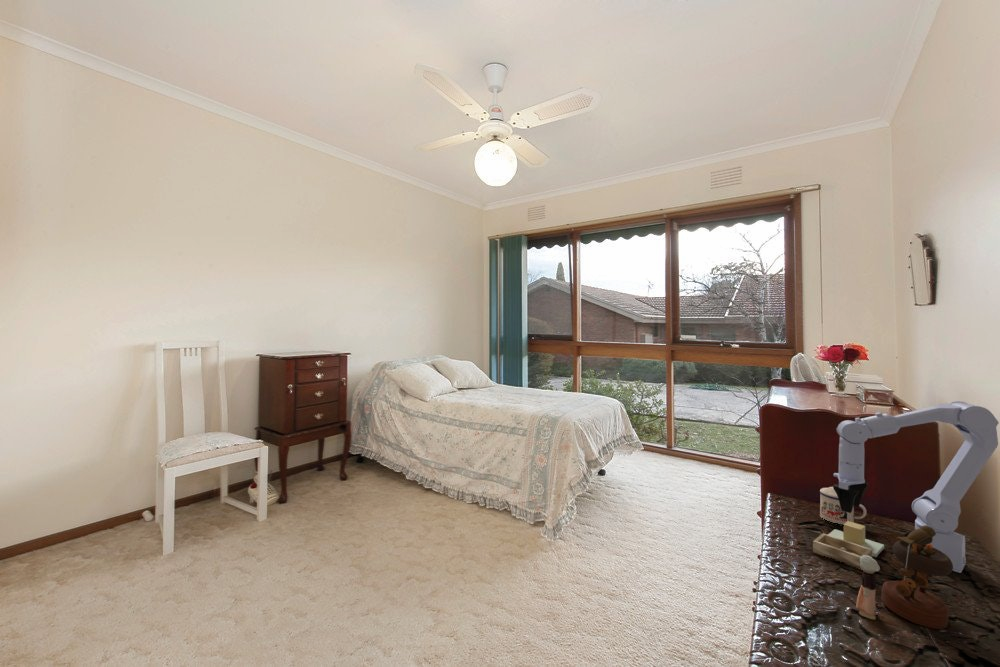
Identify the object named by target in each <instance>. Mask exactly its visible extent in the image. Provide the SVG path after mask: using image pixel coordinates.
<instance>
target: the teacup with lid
mask: <svg viewBox="0 0 1000 667" xmlns="http://www.w3.org/2000/svg"><path fill="white" fill-rule="evenodd" d="M819 494H820V503H819V517H820V518H821V519H822V518H823V519H822V520H824V519H825V520H827V521H830V522H833V523H838V524H843V525H844V524H845V523H846V522H847V521H850V522H853V523H855V520H861V519H864V518H865V517H866V516H867V509H866V507H865V506H864V505H863V504H861V503H860V505H859V508H860V509H861V510H862V511H863V512H862V515H858V516H857V515H855V514H854V513H855V507H854V505H853V509H852V512H851V513H848V512H845V511H842V510H841V507H840V503H839V499H838V496H837V494H836V492H835V490H834V489H833V486H829V487H822V488H820V490H819ZM854 519H855V520H854ZM825 520H824V521H825ZM827 521H826V522H827ZM830 522H829V523H830ZM833 523H832V524H833Z"/></svg>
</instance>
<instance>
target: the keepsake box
mask: <svg viewBox="0 0 1000 667" xmlns="http://www.w3.org/2000/svg"><path fill="white" fill-rule="evenodd" d="M812 553H813V554H816V555H819V556H822V557H824V556H825V558H827V557H829V558H828V559H830V558H832V559H835V560H838V561H840V562H839V563H841V562H844V563H846V564H848V565H847V566H849V565H851V566H850V567H852V566H854V567H856V568H855V569H857V568H858V569H857V570H860V569H861V567H860V563H861V562H860V557H861V556H863V555H868V556H870V557H872V558H873V556H872V549H869V548H866V547H863V546H860V545H857V544H854V543H851V542H848V541H845V540H842V539H839V538H836V537H833V536H830V535H828V534H826V533H824V532H822V534H820V535H819V536H818V537H816V538H815V539H814V540H812ZM832 559H831V560H832ZM835 560H834V561H835ZM838 561H837V562H838ZM846 564H845V565H846ZM854 567H853V568H854ZM861 571H862V569H861Z"/></svg>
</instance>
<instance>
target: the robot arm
mask: <svg viewBox="0 0 1000 667" xmlns="http://www.w3.org/2000/svg"><path fill="white" fill-rule="evenodd" d="M934 422H941V423H946V424H951V425H953V426H954V427H955V428H957V429H958V431H959V433H960V435H961V436H962V437H963V439H964V441H963V443H962V444H961V446H960V448H958V450H957V452H956V454H955V455H954V456H953V458H952V460H951V461H950V463H949V464H948V465H947V467H946V468H945V470H944V471H943V473H942V474H941V476H940V478H939V479H938V480H937V482H936V484H935V485H934V486H933V488H931V489H928V490H926V491H925V492H923V494H922V495H921V496H920V497H917V498H915V499H914V500H913V501H912V503H911V510H912V512H913V513H914V514H915V516H916V518H915V520H914V529H915V530H916V529H920V528H921V527H922V526H929V527H931V528H932V529H934V531H935V533H936V535H935V536H934V537H932V539H933V540H932V542H931V543H930V545H932V547H933V548H935V549H937V550H939V551H941V552H943V553H944V554H946V555H947V556H948V557H949V559H950V560H951V562H952V564H953V570H952V572H955V573H958V574H961V573H962V572H963V570H964V568H965V566H966V562H967V557H966V536H965V535H963V534H961V533H958V532H955V531H956V529H957V528H958V526H959V516H960V515H961V512H962V510H961V509H962V508H961V504H960V502H961V501H962V499H963V497H964V496H965V494H966V493H967V492H968V490H969V489H970V487H971V486H972V485H973V483H974V481H975V480H976V479H977V477H978V475H979V474H980V472H981V471H982V470H983V469H984V467H985V465H986V464H987V462H988V461H989V459H990V458H991V457H992V455H993V453H994V452H995V451H996V450H997V448H998V446H999V438H998V431H997V427H998V425H999V420H998V419H997V418H996V417H995V415H994V414H993V413H992V412H991V411H990V410H989V409H988V408H986V407H983V406H979V405H974V404H970V403H967V402H965V401H956V400H955V401H951V402H949V403H948V402H944V403H943V402H942V403H938V404H936V405H932V406H928V407H923V408H920V409H919V408H918V409H917V410H916V409H915V410H912V411H909V412H905V413H904V412H903V413H901V414H896V415H892V414H889V413H886V412H885V413H881V412H880V411H879V412H875V413H874V415H872V416H871V415H870V416H867V417H862V418H861V417H855V418H854V420H850V419H847V420H843V421H841V422H840V423H839V424H838V425H837V427H836V428H835V429H836V433H837V434H838V436H839V444H838V472H834V473H833V477H835V478H837V479H838V484H837V483H833V485H832V487H833V489H834V490H835V492H836V494H837V496H838V499H839V503H840V507H841V510H842V511H845V512H848V513H851V512H852V509H853V505H854V506H855V507H859V505H860V504H861V502H862V499H863V496H864V493H865V491H866V489H867V487H869V482H866V479H865V442H867V441H868V439H873V438H874V439H875V438H877V437H878V438H879V437H883V436H889V435H893V434H897V433H898V432H899V430H900V429H901V428H906V427H911V426H917V425H923V424H929V423H934ZM859 508H860V507H859ZM927 545H928V544H927Z"/></svg>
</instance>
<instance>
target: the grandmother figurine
mask: <svg viewBox="0 0 1000 667" xmlns="http://www.w3.org/2000/svg"><path fill="white" fill-rule="evenodd" d="M860 562H861V563H860V567H861V569H862V570H863V572H862V576H861V586H860V588H859V591H858V595H857V598H856V605H855V607H856V609H860V610H859V611H858V613H859V615H860V616H862V617H864V618H867V619H870V620H876V619H877V618H876V615H878V612H877V611H876V608H877V607H876V606H877V605H876V591H877V590H876V589H877V579H876V575H875V572H879V571H880V570H881V568H880V565H879V564H878V563H879V562H877V560H876V559H874V558H873V556H872V557H870V556H868V555H863V556H861V557H860ZM862 570H861V571H862Z"/></svg>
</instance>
